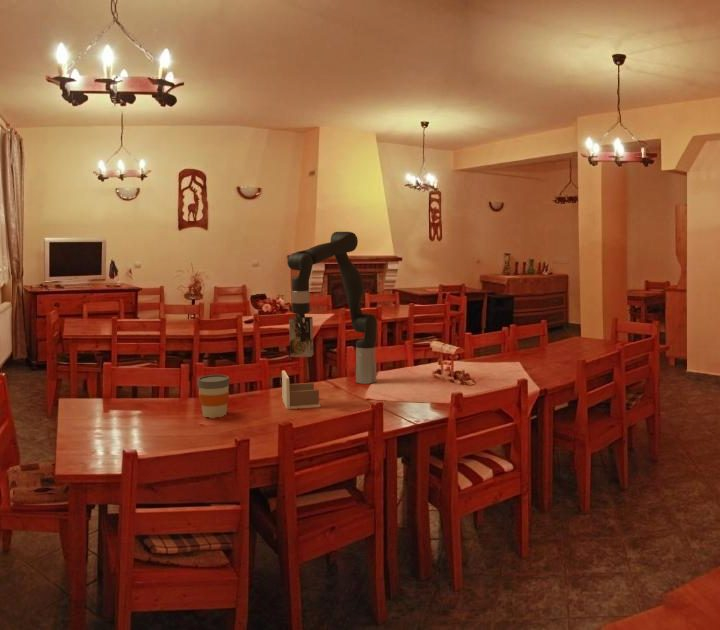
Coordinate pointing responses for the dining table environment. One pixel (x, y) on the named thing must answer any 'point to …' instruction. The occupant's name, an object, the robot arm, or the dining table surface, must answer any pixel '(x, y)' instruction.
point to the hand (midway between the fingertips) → (301, 340)
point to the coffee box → (295, 344)
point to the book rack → (299, 394)
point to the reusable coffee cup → (213, 395)
